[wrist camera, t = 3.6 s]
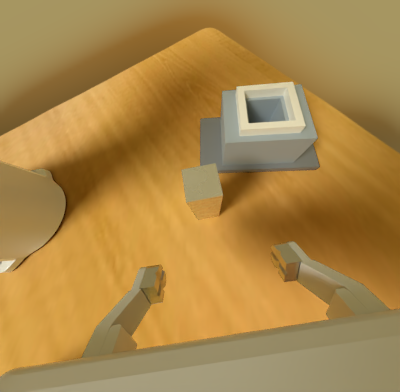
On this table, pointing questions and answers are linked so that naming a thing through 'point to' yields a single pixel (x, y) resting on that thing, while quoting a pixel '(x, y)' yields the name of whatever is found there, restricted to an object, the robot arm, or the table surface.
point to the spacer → (269, 128)
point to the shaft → (203, 190)
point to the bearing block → (257, 138)
